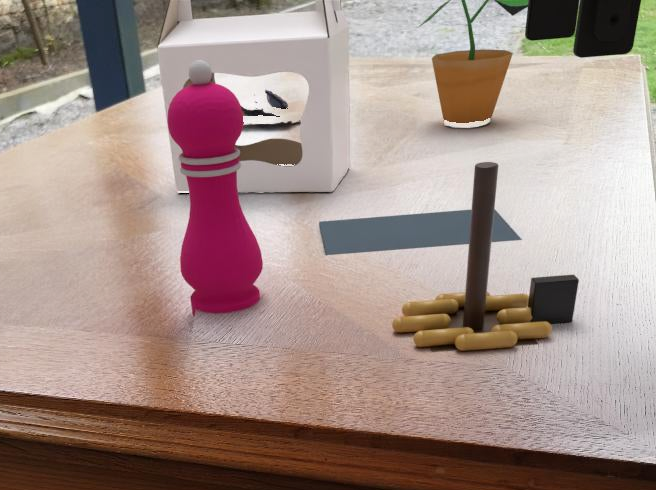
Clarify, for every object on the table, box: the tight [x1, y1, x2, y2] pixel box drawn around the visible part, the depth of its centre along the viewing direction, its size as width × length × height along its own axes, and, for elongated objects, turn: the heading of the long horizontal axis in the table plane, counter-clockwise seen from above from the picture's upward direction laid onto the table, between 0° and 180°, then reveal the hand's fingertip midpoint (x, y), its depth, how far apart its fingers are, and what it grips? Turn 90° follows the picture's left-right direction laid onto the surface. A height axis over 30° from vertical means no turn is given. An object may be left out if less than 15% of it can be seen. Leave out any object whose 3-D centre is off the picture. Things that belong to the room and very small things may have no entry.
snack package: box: [241, 89, 289, 117], centre depth 140 cm, size 12×6×12 cm
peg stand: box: [428, 161, 539, 353], centre depth 58 cm, size 8×8×13 cm
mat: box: [318, 208, 523, 256], centre depth 82 cm, size 20×18×1 cm
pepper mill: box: [166, 60, 264, 317], centre depth 65 cm, size 7×7×20 cm
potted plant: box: [418, 0, 528, 123], centre depth 121 cm, size 18×19×30 cm
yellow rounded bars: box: [391, 274, 580, 352], centre depth 61 cm, size 14×9×3 cm
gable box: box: [156, 0, 351, 193], centre depth 101 cm, size 22×13×28 cm, turn 76°
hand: (573, 46), depth 48 cm, fingers open, 9 cm apart
